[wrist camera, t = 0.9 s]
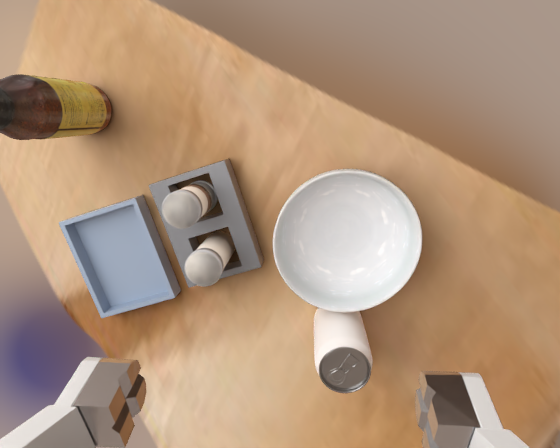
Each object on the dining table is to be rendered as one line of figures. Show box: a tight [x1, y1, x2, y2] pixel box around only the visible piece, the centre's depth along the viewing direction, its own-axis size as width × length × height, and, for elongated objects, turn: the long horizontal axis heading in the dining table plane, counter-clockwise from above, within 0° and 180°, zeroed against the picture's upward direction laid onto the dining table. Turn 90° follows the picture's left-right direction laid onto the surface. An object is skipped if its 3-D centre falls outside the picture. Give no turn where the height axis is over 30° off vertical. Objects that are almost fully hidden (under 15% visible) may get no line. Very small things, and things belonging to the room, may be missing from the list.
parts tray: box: [59, 195, 181, 318], centre depth 54 cm, size 14×11×2 cm
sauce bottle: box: [0, 75, 111, 140], centre depth 41 cm, size 7×6×20 cm
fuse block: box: [149, 159, 264, 287], centre depth 49 cm, size 14×10×9 cm
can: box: [314, 308, 372, 393], centre depth 49 cm, size 6×6×12 cm
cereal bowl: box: [273, 169, 422, 312], centre depth 49 cm, size 17×17×7 cm
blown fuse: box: [162, 180, 218, 229], centre depth 48 cm, size 4×4×9 cm
